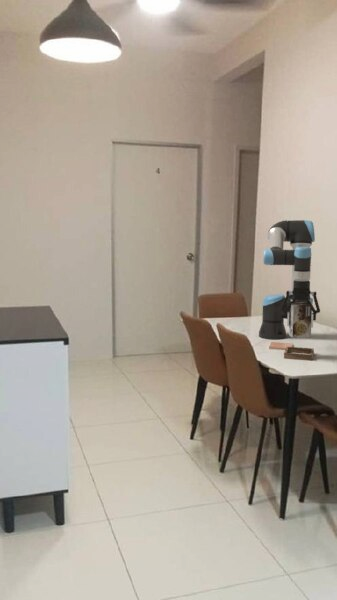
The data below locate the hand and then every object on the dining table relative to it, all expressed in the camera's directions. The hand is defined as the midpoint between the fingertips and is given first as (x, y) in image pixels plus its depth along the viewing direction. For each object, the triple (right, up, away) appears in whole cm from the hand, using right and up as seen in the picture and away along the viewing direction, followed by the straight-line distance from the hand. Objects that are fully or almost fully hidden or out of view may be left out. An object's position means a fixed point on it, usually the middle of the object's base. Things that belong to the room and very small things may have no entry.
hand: (300, 326), depth 246 cm
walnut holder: (0, -14, +2) cm, 14 cm away
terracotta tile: (-5, -12, +19) cm, 23 cm away
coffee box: (0, -5, +1) cm, 5 cm away
